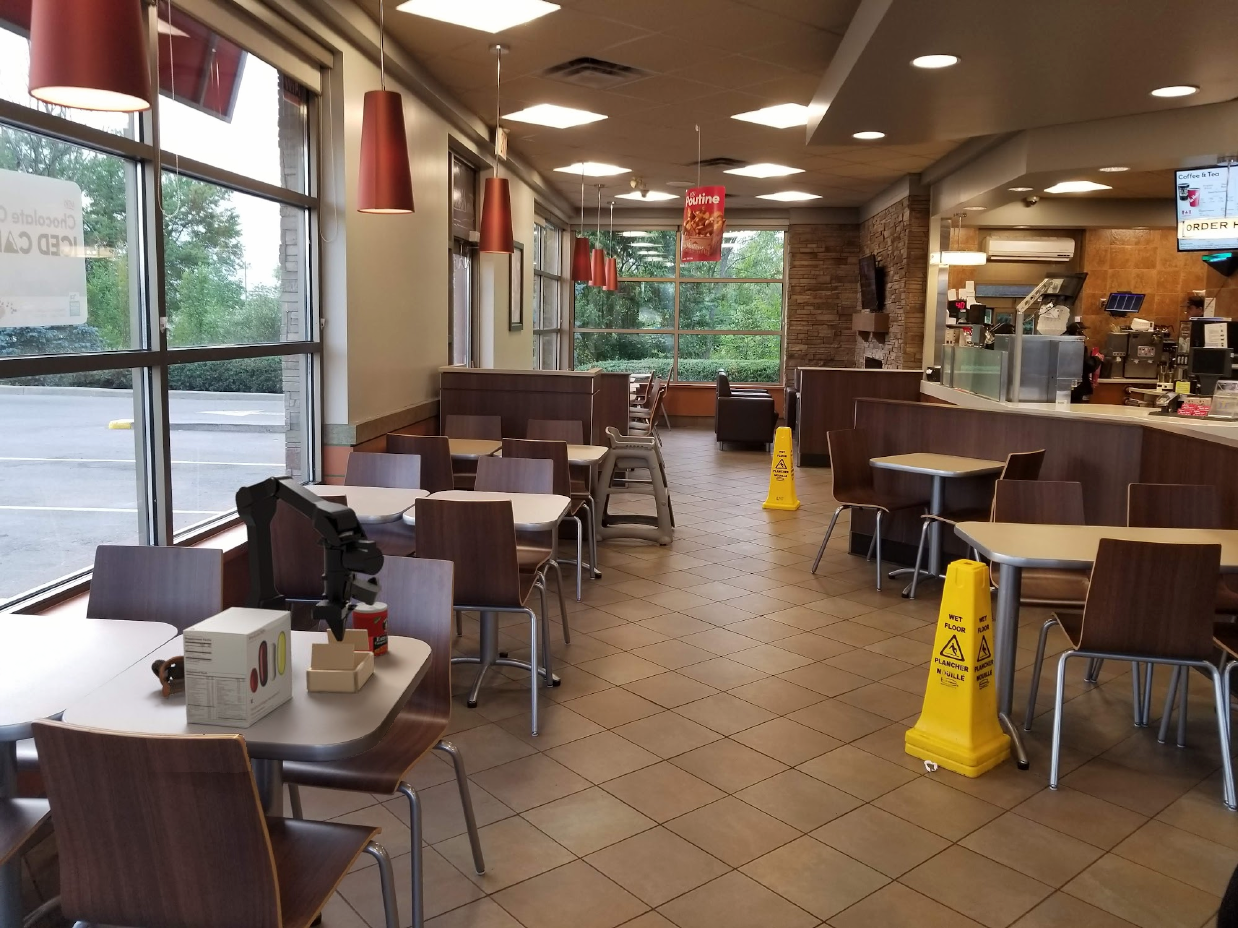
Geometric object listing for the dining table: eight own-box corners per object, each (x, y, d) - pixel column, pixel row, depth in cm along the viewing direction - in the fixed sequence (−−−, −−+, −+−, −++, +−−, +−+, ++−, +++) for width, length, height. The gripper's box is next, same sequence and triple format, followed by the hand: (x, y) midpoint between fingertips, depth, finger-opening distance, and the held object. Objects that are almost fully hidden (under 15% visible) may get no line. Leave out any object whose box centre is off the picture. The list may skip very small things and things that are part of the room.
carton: (305, 692, 202) (305, 670, 201) (325, 670, 215) (325, 650, 214) (358, 693, 202) (357, 671, 201) (374, 671, 215) (374, 651, 214)
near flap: (311, 668, 202) (310, 668, 201) (312, 643, 202) (312, 643, 202) (353, 668, 201) (352, 668, 201) (354, 644, 202) (354, 644, 202)
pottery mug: (217, 685, 207) (213, 658, 202) (188, 718, 199) (183, 692, 194) (166, 666, 208) (161, 640, 203) (136, 699, 201) (130, 672, 196)
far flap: (326, 629, 212) (327, 628, 212) (329, 649, 214) (329, 648, 214) (366, 630, 212) (367, 629, 212) (368, 650, 213) (369, 649, 214)
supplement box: (250, 729, 183) (246, 634, 180) (184, 723, 185) (180, 630, 182) (295, 696, 200) (292, 609, 197) (234, 691, 202) (231, 605, 199)
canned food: (379, 658, 223) (378, 611, 222) (347, 655, 225) (346, 608, 224) (394, 648, 231) (393, 602, 229) (362, 645, 232) (361, 600, 231)
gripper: (365, 580, 196) (366, 656, 198) (388, 559, 214) (389, 628, 216) (309, 579, 196) (311, 654, 198) (337, 558, 214) (338, 627, 216)
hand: (340, 640), depth 207 cm, fingers closed
